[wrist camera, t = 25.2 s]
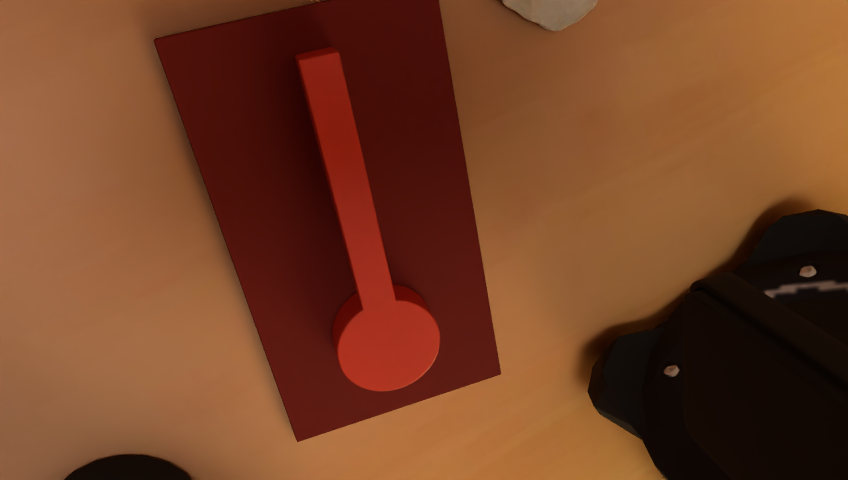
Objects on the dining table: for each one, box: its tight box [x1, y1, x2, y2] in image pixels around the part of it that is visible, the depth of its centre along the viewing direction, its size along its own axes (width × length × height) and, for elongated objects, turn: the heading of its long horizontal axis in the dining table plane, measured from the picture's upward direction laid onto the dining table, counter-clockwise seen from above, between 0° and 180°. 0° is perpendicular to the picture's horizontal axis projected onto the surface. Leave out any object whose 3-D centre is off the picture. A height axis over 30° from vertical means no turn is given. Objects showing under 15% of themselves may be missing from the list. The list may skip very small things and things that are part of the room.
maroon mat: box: [154, 0, 501, 442], centre depth 26 cm, size 18×10×1 cm, turn 11°
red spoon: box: [295, 47, 440, 391], centre depth 25 cm, size 14×4×2 cm, turn 11°
